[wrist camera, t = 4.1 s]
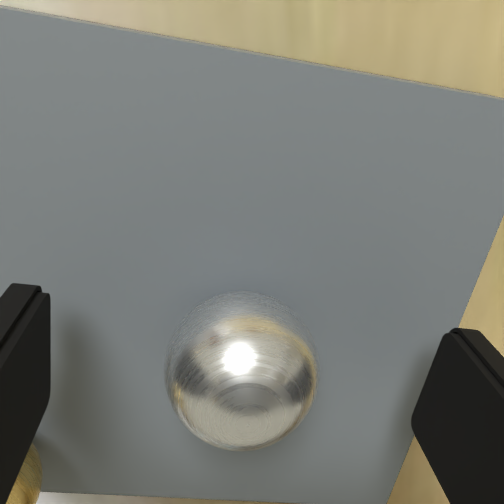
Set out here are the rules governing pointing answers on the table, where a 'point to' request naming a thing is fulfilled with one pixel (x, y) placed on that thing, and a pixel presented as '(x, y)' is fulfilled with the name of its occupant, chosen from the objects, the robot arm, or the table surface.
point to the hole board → (234, 245)
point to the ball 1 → (28, 480)
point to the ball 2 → (241, 371)
